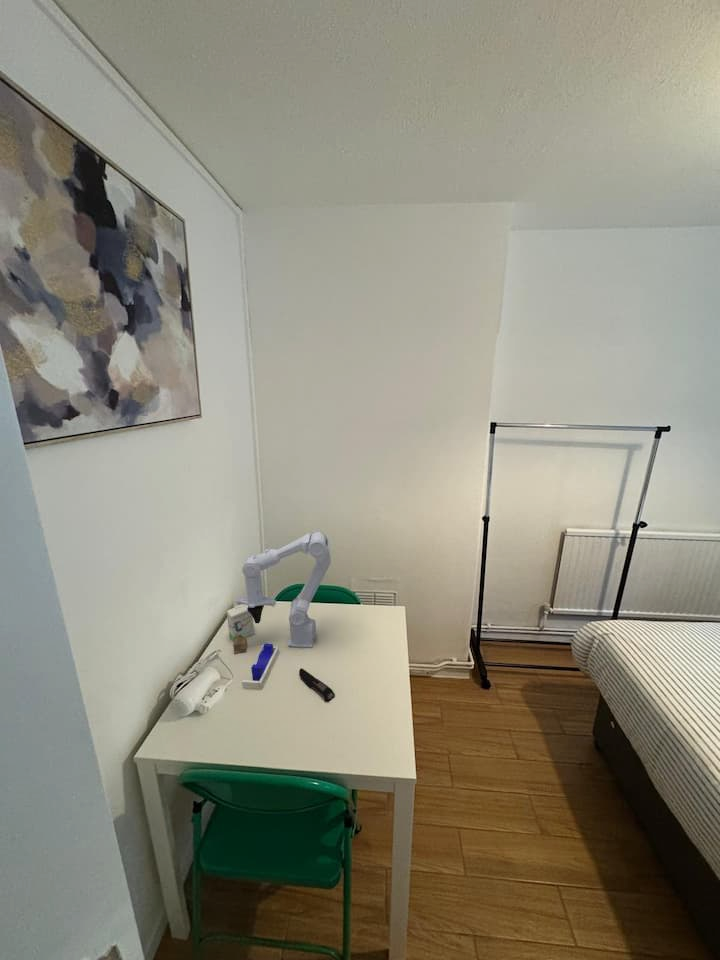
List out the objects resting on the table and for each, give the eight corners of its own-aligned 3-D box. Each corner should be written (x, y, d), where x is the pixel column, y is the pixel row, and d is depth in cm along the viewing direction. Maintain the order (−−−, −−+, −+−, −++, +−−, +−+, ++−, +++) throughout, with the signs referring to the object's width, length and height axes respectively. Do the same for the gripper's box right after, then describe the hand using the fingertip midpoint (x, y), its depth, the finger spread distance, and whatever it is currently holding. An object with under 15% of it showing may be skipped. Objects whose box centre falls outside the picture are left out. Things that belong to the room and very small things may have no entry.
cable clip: (262, 657, 136) (260, 643, 134) (274, 658, 135) (272, 643, 134) (248, 682, 124) (246, 667, 123) (261, 683, 124) (260, 668, 122)
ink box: (250, 628, 153) (247, 602, 150) (255, 634, 149) (252, 607, 146) (229, 637, 148) (225, 610, 145) (234, 643, 144) (230, 616, 141)
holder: (279, 652, 138) (278, 646, 137) (261, 689, 121) (260, 683, 121) (262, 651, 139) (261, 645, 138) (242, 688, 122) (241, 681, 121)
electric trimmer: (305, 672, 128) (305, 664, 128) (336, 696, 118) (335, 688, 117) (296, 678, 126) (296, 670, 125) (326, 704, 115) (326, 695, 114)
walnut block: (247, 645, 142) (246, 636, 141) (245, 652, 138) (244, 643, 137) (236, 647, 142) (235, 637, 141) (234, 654, 138) (233, 644, 137)
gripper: (230, 594, 135) (234, 627, 138) (269, 595, 133) (272, 629, 136) (239, 584, 142) (243, 616, 145) (276, 585, 140) (279, 617, 143)
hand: (257, 621), depth 141 cm, fingers closed
